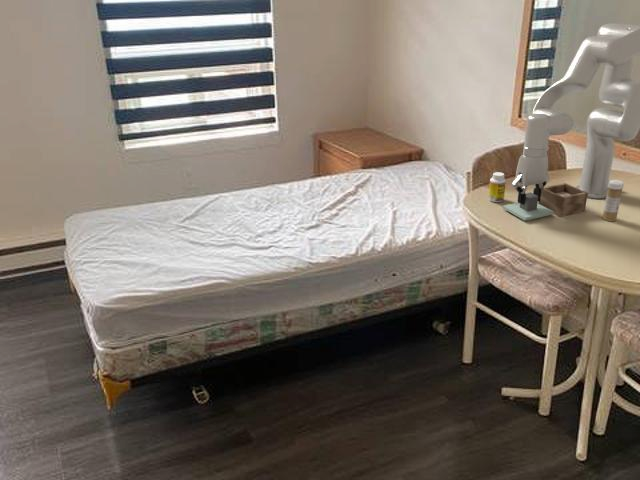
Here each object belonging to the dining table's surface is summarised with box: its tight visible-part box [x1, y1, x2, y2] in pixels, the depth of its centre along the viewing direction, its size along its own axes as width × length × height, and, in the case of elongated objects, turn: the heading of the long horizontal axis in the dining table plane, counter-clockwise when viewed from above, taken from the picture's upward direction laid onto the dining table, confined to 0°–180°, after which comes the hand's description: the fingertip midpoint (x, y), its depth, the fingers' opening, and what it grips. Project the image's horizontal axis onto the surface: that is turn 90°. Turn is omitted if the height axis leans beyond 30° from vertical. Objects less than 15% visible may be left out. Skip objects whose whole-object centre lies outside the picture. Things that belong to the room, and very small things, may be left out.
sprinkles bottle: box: [601, 179, 625, 222], centre depth 197 cm, size 5×5×13 cm
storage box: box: [538, 182, 588, 218], centre depth 208 cm, size 11×11×7 cm
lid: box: [502, 192, 554, 221], centre depth 205 cm, size 12×12×7 cm
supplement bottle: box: [488, 171, 507, 203], centre depth 216 cm, size 6×6×10 cm
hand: (528, 201), depth 205 cm, fingers open, 5 cm apart
